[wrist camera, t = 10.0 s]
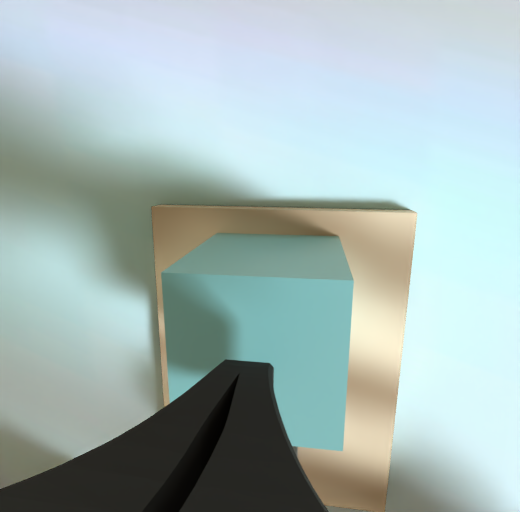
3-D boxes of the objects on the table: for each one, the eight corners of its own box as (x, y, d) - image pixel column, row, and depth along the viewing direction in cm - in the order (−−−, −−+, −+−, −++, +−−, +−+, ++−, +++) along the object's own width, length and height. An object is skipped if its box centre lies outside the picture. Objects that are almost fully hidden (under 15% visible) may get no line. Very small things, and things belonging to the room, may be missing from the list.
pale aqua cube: (333, 350, 18) (343, 451, 12) (220, 342, 19) (171, 433, 12) (339, 236, 17) (353, 280, 10) (217, 232, 17) (161, 272, 11)
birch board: (381, 496, 21) (410, 640, 14) (175, 471, 22) (121, 590, 16) (411, 210, 17) (468, 237, 11) (159, 204, 19) (80, 225, 12)
